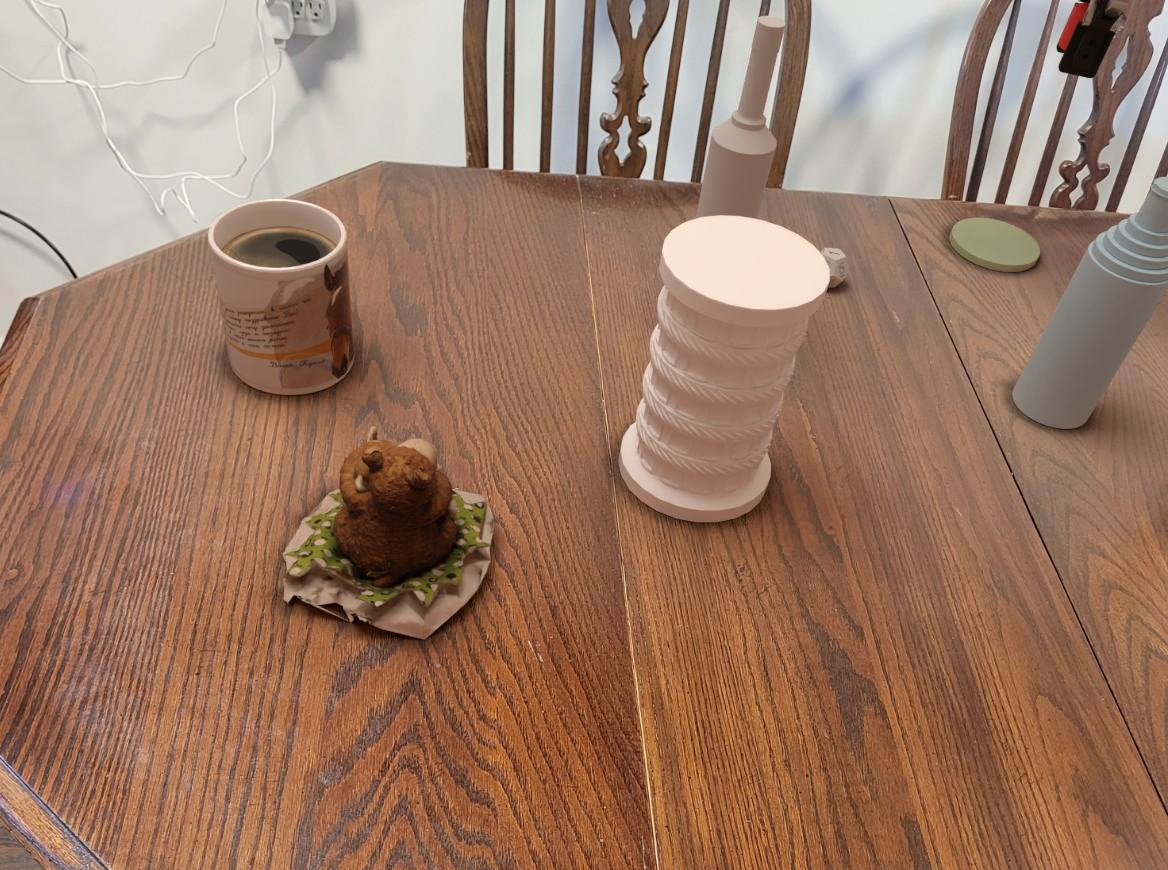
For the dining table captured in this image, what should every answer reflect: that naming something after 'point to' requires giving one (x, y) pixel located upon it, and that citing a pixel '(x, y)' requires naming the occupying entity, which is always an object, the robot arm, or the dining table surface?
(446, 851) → the dining table surface
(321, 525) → the bear figurine
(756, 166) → the bottle
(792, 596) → the dining table surface
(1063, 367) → the bottle
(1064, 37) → the cap
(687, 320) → the decorative container
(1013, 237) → the coaster
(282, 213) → the mug
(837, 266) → the game die
